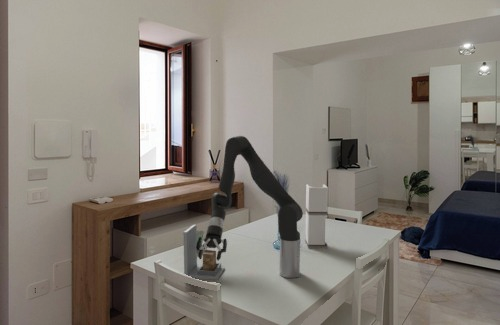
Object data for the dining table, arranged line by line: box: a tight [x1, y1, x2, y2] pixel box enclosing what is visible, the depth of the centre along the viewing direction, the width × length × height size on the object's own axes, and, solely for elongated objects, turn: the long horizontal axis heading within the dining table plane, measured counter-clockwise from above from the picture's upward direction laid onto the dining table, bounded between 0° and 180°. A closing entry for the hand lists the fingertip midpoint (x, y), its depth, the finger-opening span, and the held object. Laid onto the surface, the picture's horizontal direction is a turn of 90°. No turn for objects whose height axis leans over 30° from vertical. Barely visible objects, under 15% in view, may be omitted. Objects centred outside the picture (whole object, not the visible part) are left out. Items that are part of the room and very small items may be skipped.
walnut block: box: [202, 249, 217, 271], centre depth 165 cm, size 5×6×9 cm
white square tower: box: [304, 183, 329, 249], centre depth 205 cm, size 11×11×35 cm
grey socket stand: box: [183, 224, 225, 281], centre depth 165 cm, size 16×13×21 cm
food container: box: [182, 229, 205, 246], centre depth 200 cm, size 12×6×10 cm, turn 105°
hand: (208, 259), depth 164 cm, fingers open, 8 cm apart
